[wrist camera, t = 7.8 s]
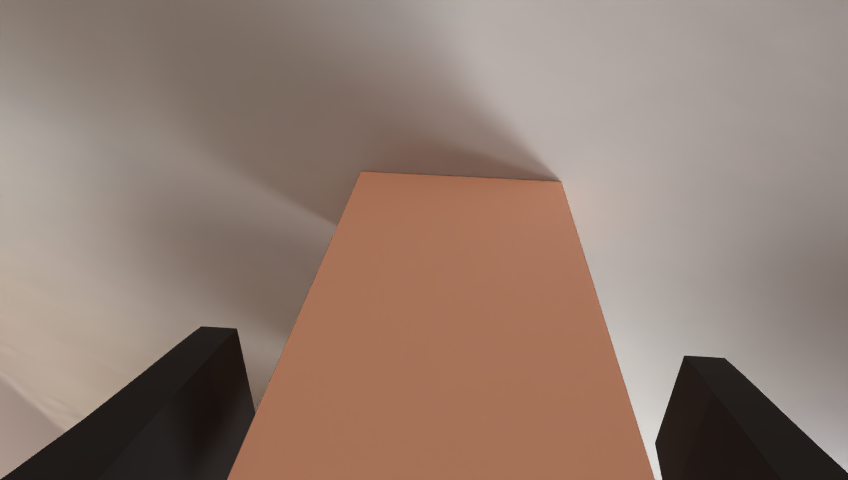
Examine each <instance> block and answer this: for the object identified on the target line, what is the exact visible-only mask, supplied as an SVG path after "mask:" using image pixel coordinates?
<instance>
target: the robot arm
mask: <svg viewBox="0 0 848 480" xmlns="http://www.w3.org/2000/svg"><path fill="white" fill-rule="evenodd" d="M254 417H255V410H254V405H253V401H252V396H251V392H250V387H249V382H248V378H247V373H246V369H245V364H244V359H243V355H242V350H241V346H240V341H239V336H238V332H237V329H234V328H218V327H200V328H199V329H197V330H196V331H195V332H193V333H192V334H191V335H189V336H188V337H187V338H185V339H184V340H183V341H182V342H180V343H179V344H178V345H177V346H175V347H174V348H173V349H172V350H170V351H169V352H168V353H167V354H165V355H164V356H163V357H162V358H160V359H159V360H158V361H157V362H155V363H154V364H153V365H152V366H150V367H149V368H148V369H147V370H146V371H144V372H143V373H142V374H141V375H139V376H138V377H137V378H136V379H134V380H133V381H132V382H130V383H129V384H128V385H127V386H125V387H124V388H123V389H122V390H120V391H119V392H118V393H116V394H115V395H114V396H113V397H111V398H110V399H109V400H108V401H106V402H105V403H104V404H102V405H101V406H100V407H99V408H97V409H96V410H95V411H93V412H92V413H91V414H90V415H88V416H87V417H86V418H84V419H83V420H82V421H81V422H79V423H78V424H76V425H75V426H74V427H72V428H71V429H70V430H68V431H67V432H65V433H64V434H63V435H61V436H60V437H59V438H57V439H56V440H55V441H53V442H52V443H50V444H49V445H48V446H46V447H45V448H43V449H42V450H41V451H39V452H38V453H37V454H35V455H34V456H32V457H31V458H30V459H28V460H27V461H26V462H24V463H23V464H22V465H20V466H19V467H17V468H16V469H15V470H13V471H12V472H11V473H9V474H8V475H6V476H5V477H3V478H2V479H0V480H227V479H228V476H229V474H230V472H231V469H232V467H233V465H234V463H235V460H236V458H237V456H238V453H239V451H240V449H241V446H242V444H243V442H244V440H245V437H246V435H247V433H248V430H249V428H250V426H251V423H252V421H253V419H254ZM655 445H656V450H657V455H658V460H659V465H660V470H661V475H662V480H848V473H847V472H846V471H845V470H844V469H843V468H842V467H841V466H840V465H838V464H837V463H836V462H835V461H834V460H833V459H832V458H831V457H830V456H829V455H828V454H826V453H825V452H824V451H823V450H822V449H821V448H820V447H819V446H818V445H817V444H816V443H815V442H814V441H813V440H811V439H810V438H809V437H808V436H807V435H806V434H805V433H804V432H803V431H802V430H801V429H800V428H799V427H798V426H797V425H795V424H794V423H793V422H792V421H791V420H790V419H789V418H788V417H787V416H786V415H785V414H784V413H783V412H782V411H781V410H780V409H779V408H778V407H777V406H775V405H774V404H773V403H772V402H771V401H770V400H769V399H768V398H767V397H766V396H765V395H764V394H763V393H762V392H761V391H760V390H759V389H758V388H757V387H756V386H754V385H753V384H752V383H751V382H750V381H749V380H748V379H747V378H746V377H745V376H744V375H743V374H742V373H741V372H740V371H738V370H737V369H736V368H735V367H734V366H733V365H732V364H731V363H730V362H728V361H727V360H726V359H725V358H714V357H698V356H684V358H683V361H682V364H681V367H680V370H679V373H678V376H677V379H676V382H675V385H674V388H673V391H672V394H671V397H670V400H669V403H668V406H667V409H666V412H665V415H664V418H663V421H662V424H661V427H660V430H659V433H658V436H657V439H656V442H655Z"/></svg>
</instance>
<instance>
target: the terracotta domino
mask: <svg viewBox="0 0 848 480" xmlns="http://www.w3.org/2000/svg"><path fill="white" fill-rule="evenodd" d="M227 480H655V479H654V475H653V472H652V469H651V466H650V463H649V460H648V456H647V453H646V450H645V447H644V444H643V440H642V437H641V434H640V431H639V428H638V425H637V421H636V418H635V415H634V412H633V409H632V405H631V402H630V399H629V396H628V393H627V389H626V386H625V383H624V380H623V377H622V374H621V370H620V367H619V364H618V361H617V358H616V354H615V351H614V348H613V345H612V342H611V339H610V335H609V332H608V329H607V326H606V323H605V319H604V316H603V313H602V310H601V307H600V304H599V300H598V297H597V294H596V291H595V288H594V284H593V281H592V278H591V275H590V272H589V268H588V265H587V262H586V259H585V256H584V253H583V249H582V246H581V243H580V240H579V237H578V233H577V230H576V227H575V224H574V221H573V218H572V214H571V211H570V208H569V205H568V202H567V198H566V195H565V192H564V189H563V186H562V183H561V182H560V181H540V180H520V179H500V178H480V177H461V176H441V175H421V174H401V173H381V172H361V173H360V175H359V177H358V180H357V182H356V184H355V187H354V189H353V191H352V193H351V196H350V198H349V200H348V203H347V205H346V207H345V210H344V212H343V214H342V216H341V219H340V221H339V223H338V226H337V228H336V230H335V233H334V235H333V237H332V239H331V242H330V244H329V246H328V249H327V251H326V253H325V256H324V258H323V260H322V262H321V265H320V267H319V269H318V272H317V274H316V276H315V279H314V281H313V283H312V285H311V288H310V290H309V292H308V295H307V297H306V299H305V302H304V304H303V306H302V308H301V311H300V313H299V315H298V318H297V320H296V322H295V325H294V327H293V329H292V331H291V334H290V336H289V338H288V341H287V343H286V345H285V348H284V350H283V352H282V354H281V357H280V359H279V361H278V364H277V366H276V368H275V371H274V373H273V375H272V377H271V380H270V382H269V384H268V387H267V389H266V391H265V394H264V396H263V398H262V400H261V403H260V405H259V407H258V410H257V412H256V414H255V417H254V419H253V421H252V423H251V426H250V428H249V430H248V433H247V435H246V437H245V440H244V442H243V444H242V446H241V449H240V451H239V453H238V456H237V458H236V460H235V463H234V465H233V467H232V469H231V472H230V474H229V476H228V479H227Z"/></svg>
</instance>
